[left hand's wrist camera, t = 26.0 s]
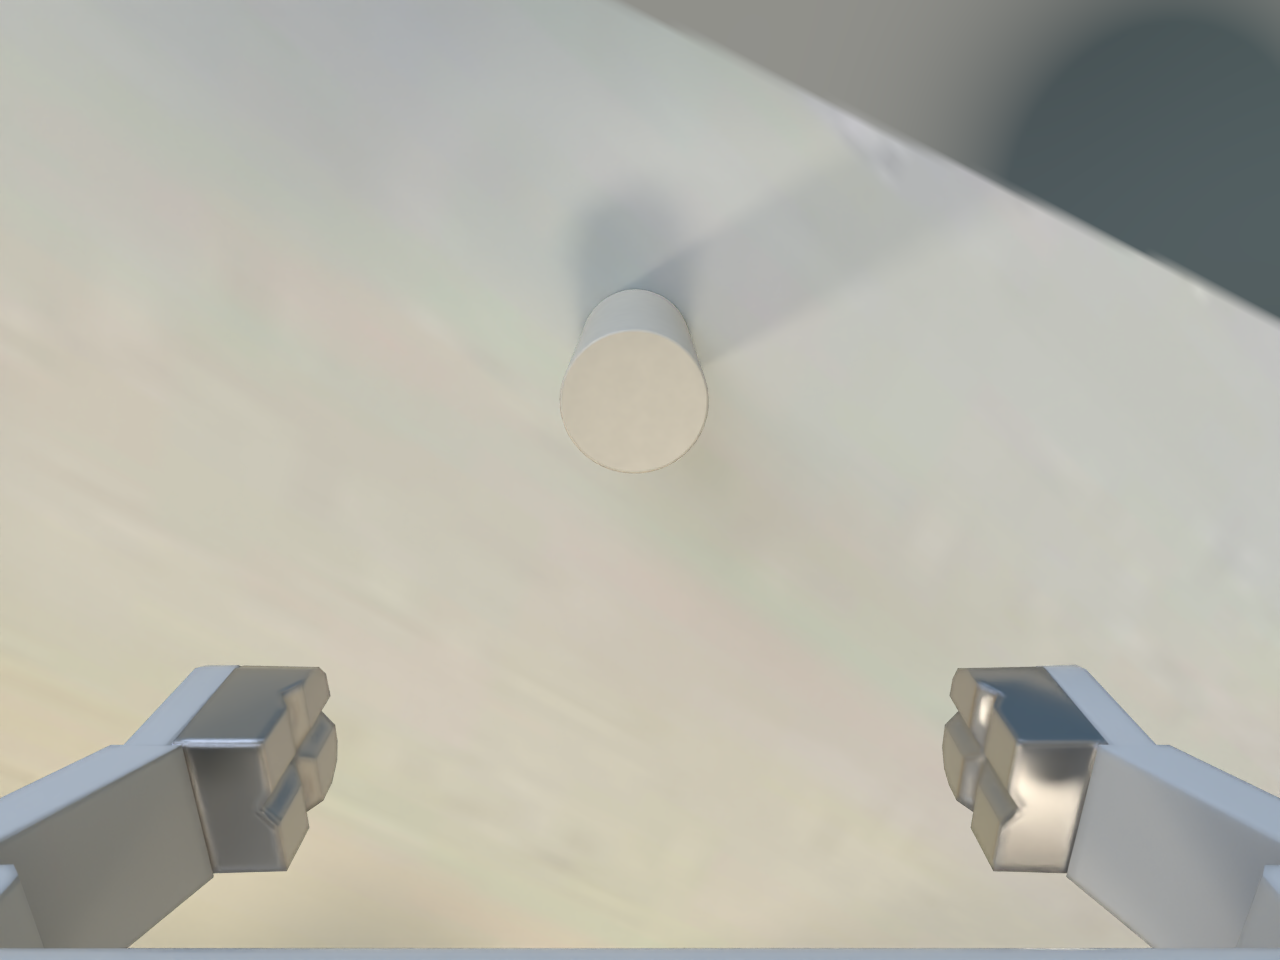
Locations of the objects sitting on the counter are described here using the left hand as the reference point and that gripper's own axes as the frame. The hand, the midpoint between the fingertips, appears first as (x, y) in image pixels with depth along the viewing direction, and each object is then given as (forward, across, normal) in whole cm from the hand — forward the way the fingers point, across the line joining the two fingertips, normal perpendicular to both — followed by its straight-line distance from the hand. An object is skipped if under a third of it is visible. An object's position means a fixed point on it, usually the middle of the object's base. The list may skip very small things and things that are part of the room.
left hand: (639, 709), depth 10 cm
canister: (+25, 0, 0) cm, 25 cm away
